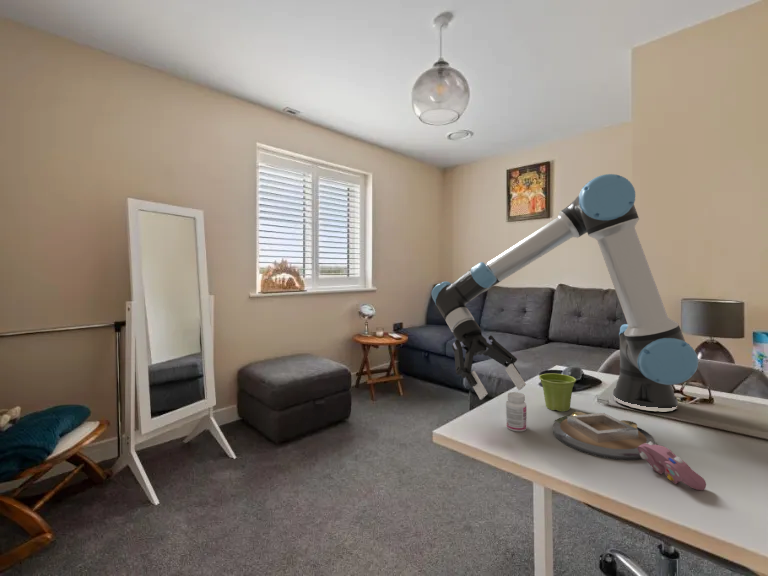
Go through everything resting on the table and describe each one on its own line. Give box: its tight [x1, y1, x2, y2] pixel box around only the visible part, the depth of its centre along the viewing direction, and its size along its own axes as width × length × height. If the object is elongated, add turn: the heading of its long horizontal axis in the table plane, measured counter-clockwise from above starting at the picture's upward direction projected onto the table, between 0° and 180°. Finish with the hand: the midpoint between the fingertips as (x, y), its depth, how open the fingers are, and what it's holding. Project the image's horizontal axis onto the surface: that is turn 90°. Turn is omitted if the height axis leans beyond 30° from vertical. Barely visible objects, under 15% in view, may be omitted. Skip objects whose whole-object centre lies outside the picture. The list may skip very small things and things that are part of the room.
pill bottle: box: [505, 391, 528, 432], centre depth 89 cm, size 5×5×8 cm
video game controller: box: [637, 441, 707, 491], centre depth 66 cm, size 10×5×7 cm, turn 5°
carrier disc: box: [552, 411, 656, 461], centre depth 83 cm, size 20×20×4 cm
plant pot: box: [538, 373, 577, 412], centre depth 102 cm, size 9×9×9 cm
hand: (503, 392), depth 92 cm, fingers open, 13 cm apart
